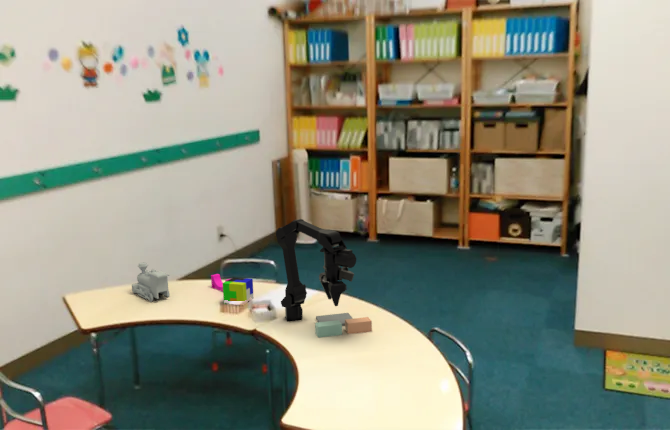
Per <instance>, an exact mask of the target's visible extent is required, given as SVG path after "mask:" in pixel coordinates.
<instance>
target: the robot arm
mask: <svg viewBox="0 0 670 430" xmlns="http://www.w3.org/2000/svg"><path fill="white" fill-rule="evenodd" d="M299 233H301V234H303V235H306V236H308V237H310V238H312V239H315V240H316V241H317V243H318V244H319V245H320V246H322V248H321V249H319V252H321V253H323V256H324V257H323V258H324V259H323V261H324V265H322V266H323V269H324V272H320V273H319V275H318V280H319V282H320V283H321V287H322V288H323V290H324V292H325V295H326V297H327V299H328V300H331V301H332V302H333V305H334V307H338V306H339V303H340V298H341V295H342V293H344V292H346V291H347V284H346V283H344V281H342V280H346V281H349V282H351V283H352V282H353V279H354V276H355V273H354V272H353V271H350V270H349V269H352V268H354V267H355V265H356V263H357V257H356V254H355V253H353V249H348V247H347V245H346V243H345V241H344V240H343V238H342V237H341V234H340V232H338V231H336V230H332V229H331V230H330V229H324V228H320V227H318V226H316V225H314V224H312V223H309V222H307V220H306V221H305V219H302V218H299V219H294V220H292V221H291V222H289V223H288V224H285V225H284V226H281V227H279V228H277V229H276V231H275V237H276V240H277V244H278V245H279V246H280V248H281V249H282V253H283V260H284V267H285V272H286V279H287V280H286V281H287V284H286V285H285V289H284V291H285V296H284V297H283V299H282V300H280V304H281V307H283V308H284V311H285V312H284V313H285V315H284V319H285V321H286V322H287V323H288V322H290V323H291V322H299V321H303V308H302V305H303V304H305V300H306V298H307V295H308V292H307V288H306V287H307V286H306V284H303V283H302V282H301V280H300V275H299V268H298V262H297V255H296V248H295V246H296V243H297V240H298V236H297V235H298V234H299Z"/></svg>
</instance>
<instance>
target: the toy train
mask: <svg viewBox="0 0 670 430" xmlns="http://www.w3.org/2000/svg"><path fill="white" fill-rule="evenodd" d="M148 266H149V264H148V262H139V263H138V265H137V267H138V268H139V270H140V271H141V272H140V273H138V275H137V276H136V281H137V283H132V284H131V291H132V293H133V294H137V295H138V296H140V297H141V298H143V299H145V300H148V301H149V302H150V303H152V302H153V301H154V298H155V299H157V300H159V298H160V297H159V294H160V295H162V296H163V295H164V297H166V298H170V291H169V290H170V289H169V282H168V281H169V280H168V277H169V276H170V274H169V273H167V272H165V271H162V270H157V269H155V268H152V269H151V270H147V268H148Z"/></svg>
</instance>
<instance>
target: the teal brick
mask: <svg viewBox="0 0 670 430" xmlns="http://www.w3.org/2000/svg"><path fill="white" fill-rule="evenodd" d="M314 324H315V325H314V328H315V330H314V331H315V335H316V336H317V338H325V337H326V338H327V337H335V336H343V326H342V324H341V322H340V321H339V320H336V321H327V322H318V321H317V322H314Z"/></svg>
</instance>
